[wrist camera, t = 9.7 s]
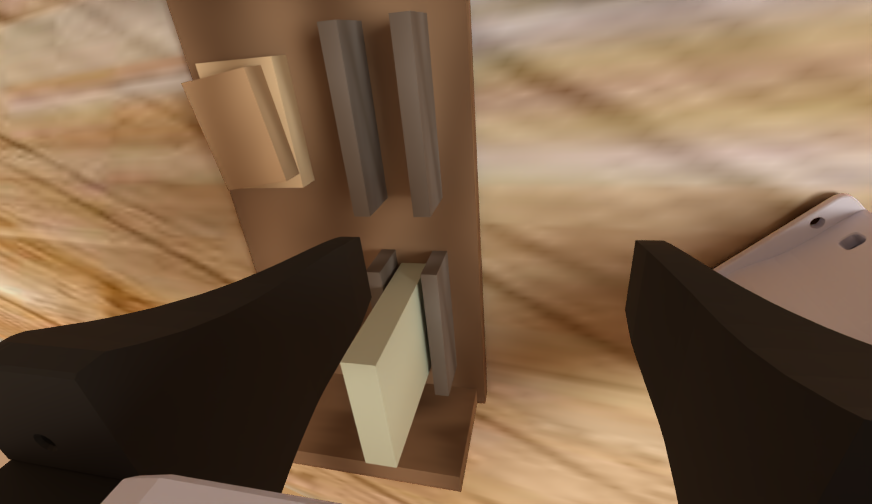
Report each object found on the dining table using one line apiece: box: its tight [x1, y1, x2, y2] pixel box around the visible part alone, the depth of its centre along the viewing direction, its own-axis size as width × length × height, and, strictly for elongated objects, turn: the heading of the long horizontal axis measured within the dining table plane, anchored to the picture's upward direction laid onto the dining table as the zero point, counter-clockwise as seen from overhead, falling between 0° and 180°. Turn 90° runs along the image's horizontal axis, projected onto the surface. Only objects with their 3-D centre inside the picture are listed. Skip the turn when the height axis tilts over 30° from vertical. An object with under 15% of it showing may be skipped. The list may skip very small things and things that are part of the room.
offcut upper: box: [181, 65, 300, 190], centre depth 19 cm, size 3×5×1 cm
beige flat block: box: [340, 263, 432, 468], centre depth 21 cm, size 2×6×8 cm, turn 5°
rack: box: [166, 0, 487, 492], centre depth 20 cm, size 14×26×7 cm, turn 5°
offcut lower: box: [195, 55, 315, 188], centre depth 20 cm, size 4×6×1 cm, turn 5°
